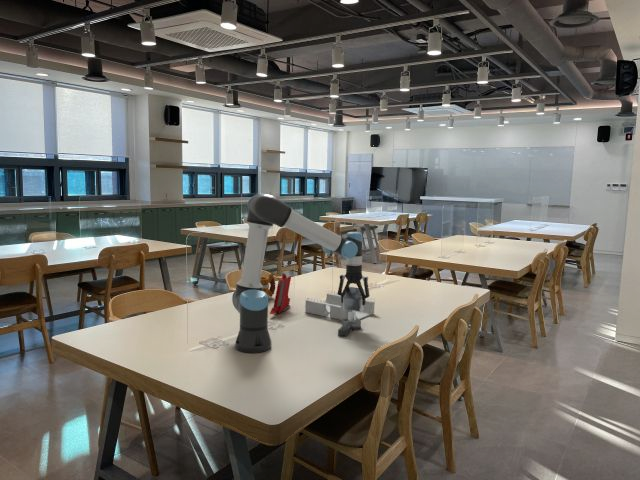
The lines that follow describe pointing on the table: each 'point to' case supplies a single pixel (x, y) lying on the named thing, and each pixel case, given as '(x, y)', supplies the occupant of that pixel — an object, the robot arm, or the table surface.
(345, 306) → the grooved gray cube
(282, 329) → the table surface
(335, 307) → the skate ramp
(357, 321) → the ratchet
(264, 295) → the robot arm
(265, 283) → the mug
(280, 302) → the tool
